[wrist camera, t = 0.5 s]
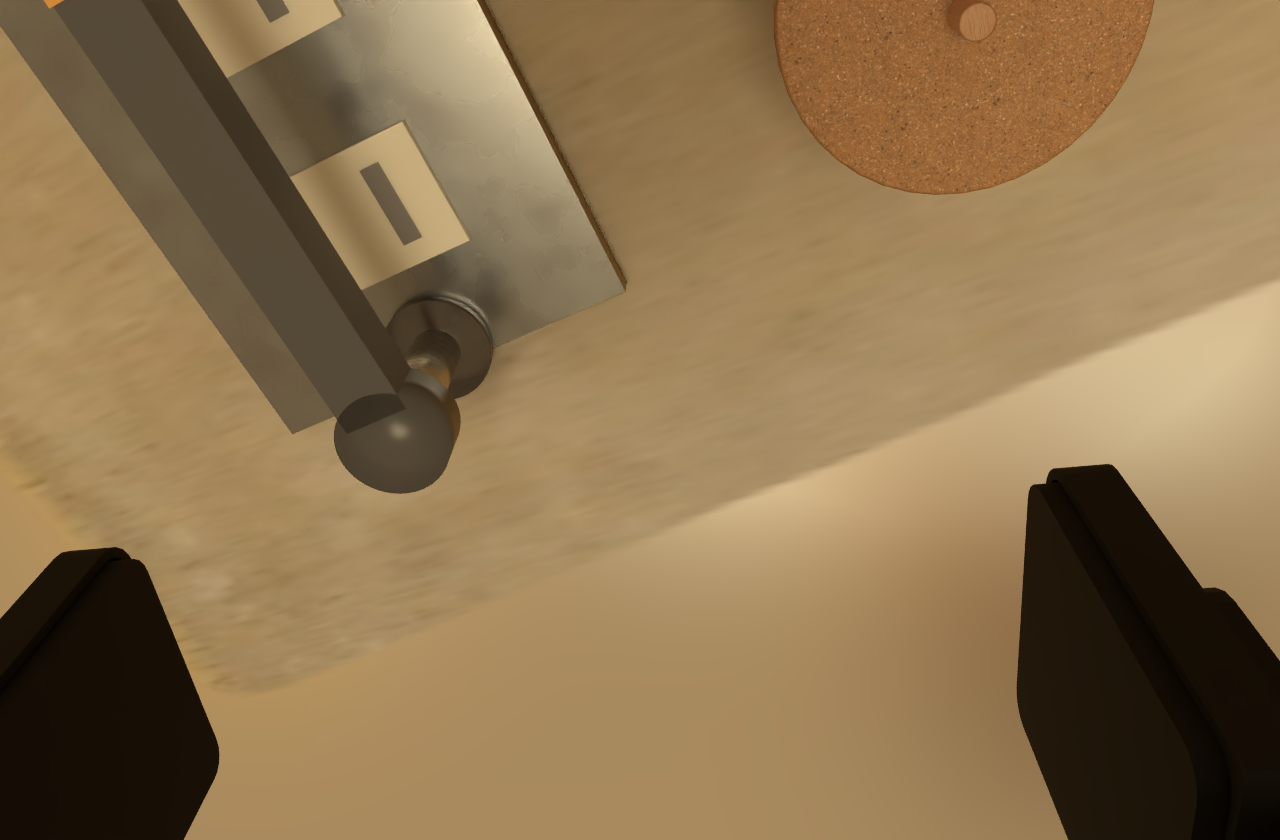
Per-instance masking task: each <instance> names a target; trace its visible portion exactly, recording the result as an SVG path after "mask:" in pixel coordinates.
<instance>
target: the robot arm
mask: <svg viewBox="0 0 1280 840" xmlns="http://www.w3.org/2000/svg"><path fill="white" fill-rule="evenodd" d="M1017 675H1018V676H1017V702H1018V708H1019V713H1020V717H1021V721H1022V724H1023V727H1024V730H1025V732H1026V735H1027V737H1028V739H1029V742H1030V745H1031V747H1032V750H1033V752H1034V755H1035V757H1036V760H1037V762H1038V765H1039V767H1040V770H1041V772H1042V775H1043V777H1044V780H1045V782H1046V785H1047V787H1048V790H1049V792H1050V795H1051V797H1052V800H1053V802H1054V805H1055V808H1056V810H1057V813H1058V815H1059V817H1060V820H1061V823H1062V825H1063V827H1064V830H1065V833H1066V835H1067V837H1068V840H1280V661H1279V659H1278V658H1277V657H1276V655H1275V654H1274V653H1273V651H1272V650H1271V649H1270V647H1269V646H1268V645H1267V643H1266V642H1265V641H1264V639H1263V638H1262V637H1261V636H1260V634H1259V633H1258V631H1257V630H1256V629H1255V627H1254V626H1253V625H1252V624H1251V622H1250V621H1249V619H1248V618H1247V617H1246V615H1245V614H1244V613H1243V611H1242V610H1241V609H1240V607H1239V606H1238V605H1237V603H1236V602H1235V601H1234V600H1233V599H1232V598H1231V597H1230V596H1229V595H1228V594H1227V593H1226V592H1225V591H1223V590H1220V589H1218V588H1202V587H1201V586H1200V584H1199V583H1198V581H1197V580H1196V579H1195V577H1194V576H1193V574H1192V573H1191V572H1190V570H1189V569H1188V567H1187V566H1186V565H1185V563H1184V562H1183V561H1182V559H1181V558H1180V556H1179V555H1178V554H1177V552H1176V551H1175V549H1174V548H1173V547H1172V545H1171V544H1170V542H1169V541H1168V540H1167V538H1166V537H1165V536H1164V534H1163V533H1162V531H1161V530H1160V529H1159V527H1158V526H1157V524H1156V523H1155V522H1154V520H1153V519H1152V517H1151V516H1150V515H1149V513H1148V512H1147V511H1146V509H1145V508H1144V506H1143V505H1142V504H1141V502H1140V501H1139V500H1138V498H1137V497H1136V495H1135V494H1134V493H1133V491H1132V490H1131V488H1130V487H1129V486H1128V484H1127V483H1126V481H1125V480H1124V479H1123V477H1122V476H1121V474H1120V473H1119V472H1118V470H1117V469H1116V468H1115V467H1114V466H1113V465H1110V464H1103V465H1092V466H1079V467H1067V468H1055V469H1052V470H1051V471H1050V472H1049V474H1048V477H1047V481H1046V484H1035V485H1032V486H1031V487H1030V490H1029V495H1028V507H1027V523H1026V540H1025V557H1024V575H1023V591H1022V607H1021V625H1020V641H1019V657H1018V674H1017ZM218 764H219V747H218V743H217V740H216V737H215V734H214V732H213V730H212V727H211V725H210V723H209V720H208V717H207V715H206V713H205V710H204V708H203V706H202V703H201V700H200V698H199V695H198V693H197V691H196V688H195V686H194V683H193V681H192V678H191V676H190V673H189V671H188V669H187V666H186V664H185V661H184V659H183V656H182V654H181V651H180V649H179V647H178V644H177V642H176V639H175V637H174V634H173V632H172V629H171V627H170V625H169V622H168V620H167V617H166V615H165V612H164V610H163V607H162V605H161V603H160V600H159V598H158V595H157V593H156V590H155V588H154V585H153V583H152V581H151V578H150V576H149V573H148V571H147V569H146V567H145V566H144V564H143V563H142V562H141V561H139V560H136V559H131V558H130V556H129V555H128V554H127V553H126V552H125V551H124V550H123V549H120V548H117V547H112V548H100V549H89V550H77V551H68V552H63V553H61V554H59V555H58V556H57V557H56V558H55V559H53V561H52V562H51V563H50V564H49V565H48V566H47V567H46V568H45V569H44V571H43V572H42V573H41V574H40V575H39V576H38V577H37V578H36V580H35V581H34V582H33V583H32V584H31V585H30V586H29V587H28V589H27V590H26V591H25V592H24V593H23V594H22V595H21V596H20V597H19V599H18V600H17V601H16V602H15V603H14V604H13V605H12V606H11V608H10V609H9V610H8V611H7V612H6V613H5V614H4V615H3V616H2V617H1V619H0V840H184V838H185V836H186V834H187V832H188V830H189V828H190V826H191V824H192V822H193V820H194V818H195V816H196V814H197V812H198V810H199V808H200V806H201V804H202V802H203V800H204V798H205V796H206V794H207V792H208V790H209V789H210V787H211V785H212V783H213V781H214V779H215V776H216V773H217V770H218Z"/></svg>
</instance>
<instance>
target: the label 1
mask: <svg viewBox="0 0 1280 840" xmlns="http://www.w3.org/2000/svg"><path fill="white" fill-rule="evenodd" d="M178 2H179V4H180V5H181V7H182V8H183V10H184V11H185V13H186V15H187V16H188V18H189V19H190V21H191V22H192V24H193V26H194V27H195V29H196V30H197V32H198V34H199V35H200V37H201V38H202V40H203V41H204V43H205V45H206V46H207V48H208V49H209V51H210V52H211V54H212V56H213V57H214V59H215V60H216V62H217V63H218V65H219V67H220V68H221V70H222V71H223V73H224V75H225V76H226V78H228V77H230V76H232V75H234V74H236V73H237V72H239V71H241V70H243V69H245V68H247V67H249V66H251V65H252V64H254V63H256V62H258V61H260V60H262V59H264V58H266V57H267V56H269V55H271V54H273V53H275V52H277V51H279V50H280V49H282V48H284V47H286V46H288V45H290V44H292V43H294V42H295V41H297V40H299V39H301V38H303V37H305V36H307V35H308V34H310V33H312V32H314V31H316V30H318V29H320V28H322V27H323V26H325V25H327V24H329V23H331V22H333V21H335V20H337V19H338V18H340V17H342V16H344V13H343V12H342V10H341V8H340V6H339V5H338V3H337V1H336V0H178Z"/></svg>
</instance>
